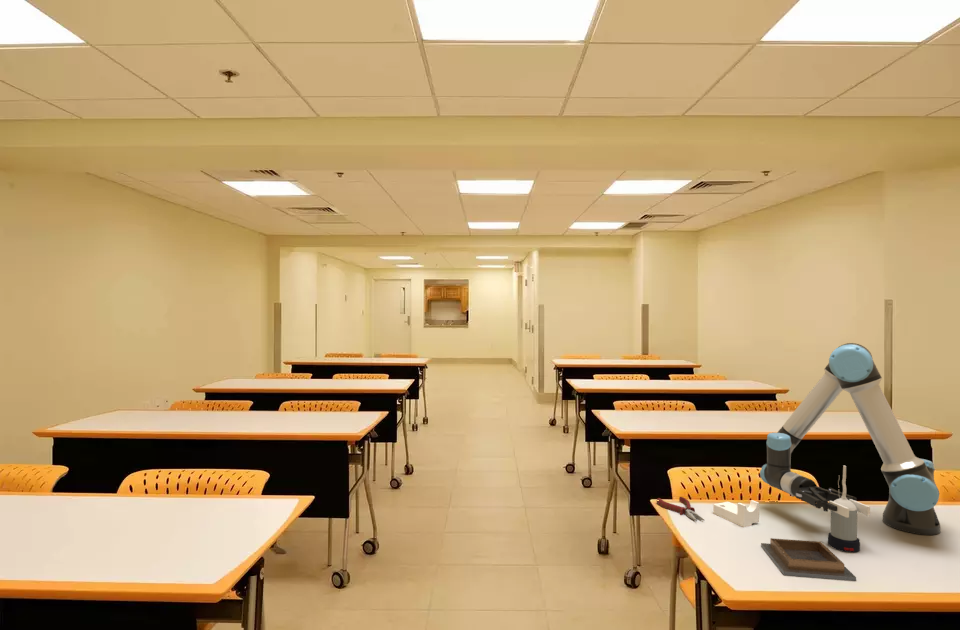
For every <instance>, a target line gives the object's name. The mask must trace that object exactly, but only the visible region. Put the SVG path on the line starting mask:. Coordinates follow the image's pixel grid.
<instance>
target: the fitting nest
mask: <svg viewBox="0 0 960 630" xmlns="http://www.w3.org/2000/svg"><path fill="white" fill-rule="evenodd" d="M769 539H770V543H768V542H767V543H765V542H762V543H760V547H761V548H762V550H763V551H764V552H765V553H766V555H767V556H768V557H769V558H770V560H771V561H772V562H773V563H774V565H775V566H776V567H777V569H779V571H780V572H781V574H782V575H783V576H788V577H798V578H799V577H800V578H812V579H815V578H816V579H824V580H825V579H828V580H837V581H838V580H840V581H850V582H851V581H852V582H857V577H856V575H854V574H853V573H852V572H851V571H850V569H848V567H846V566H845V563H844V562H843V561H842V560H841V559H840V558H839V557H837V555H836V554H835V553H834V552H832V550H830V548H828V547H827V546H826V545H825V544H824V543H823V542H822V541H816V540H799V539H798V540H797V539H789V538H786V539H785V538H773V537H771V538H769Z"/></svg>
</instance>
